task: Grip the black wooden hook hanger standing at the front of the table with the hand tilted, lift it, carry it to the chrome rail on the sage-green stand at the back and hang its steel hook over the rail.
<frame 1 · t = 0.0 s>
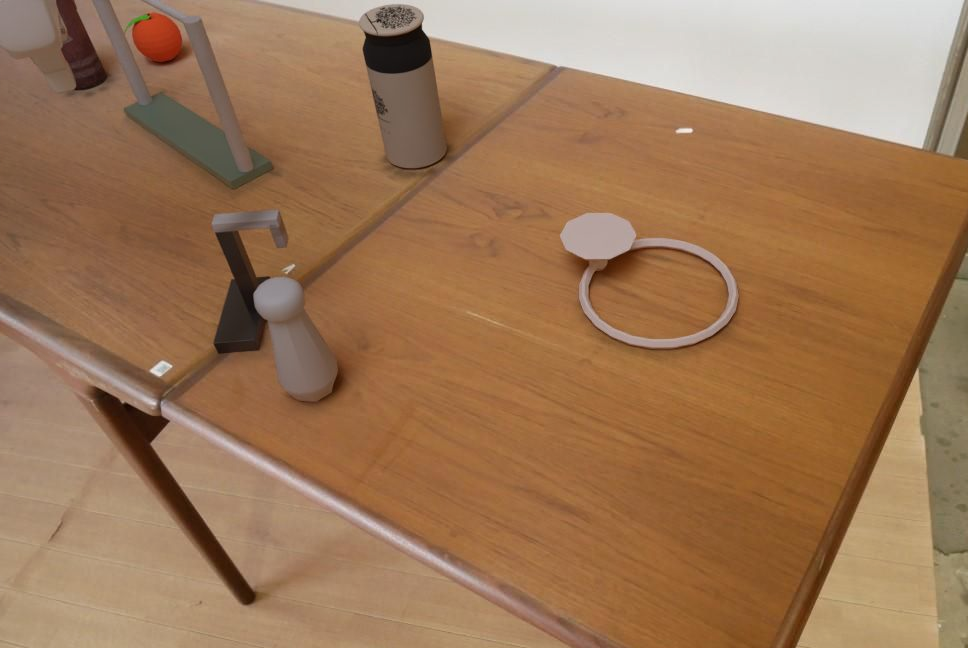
hand: (62, 62, 69), 29 cm above the table, tool pointing down, fingers open, 8 cm apart
clementine: (163, 61, 131), on the table
can: (87, 81, 127), on the table
travel mug: (417, 154, 110), on the table
salt shaker: (314, 388, 83), on the table
rack: (196, 141, 114), on the table
hand towel holder: (643, 289, 91), on the table
hanger: (261, 317, 90), on the table
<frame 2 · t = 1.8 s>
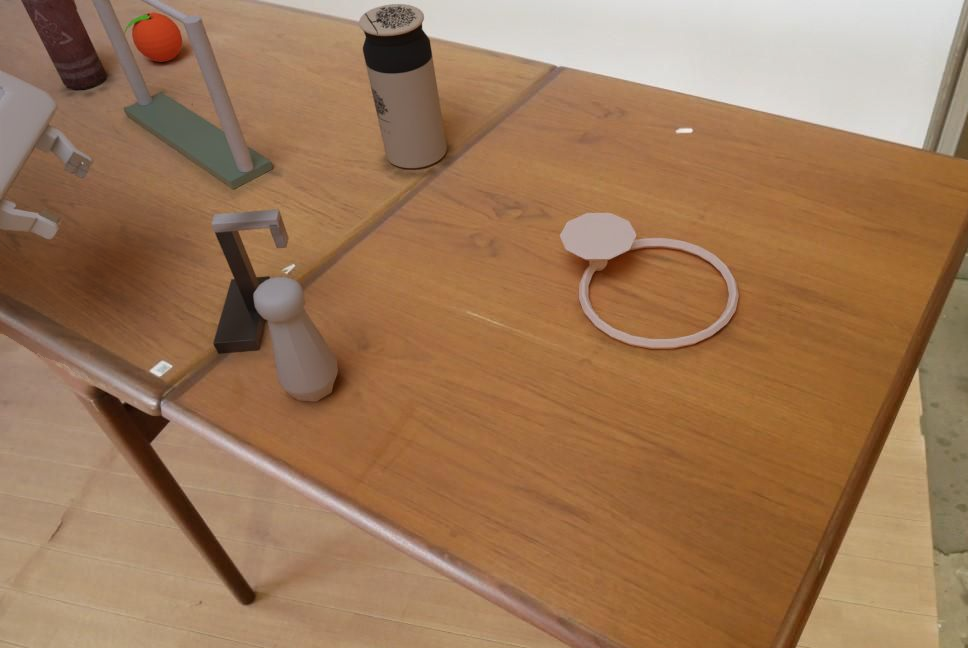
hand: (74, 198, 78), 16 cm above the table, tool tilted 45°, fingers open, 8 cm apart
nothing on the table moved.
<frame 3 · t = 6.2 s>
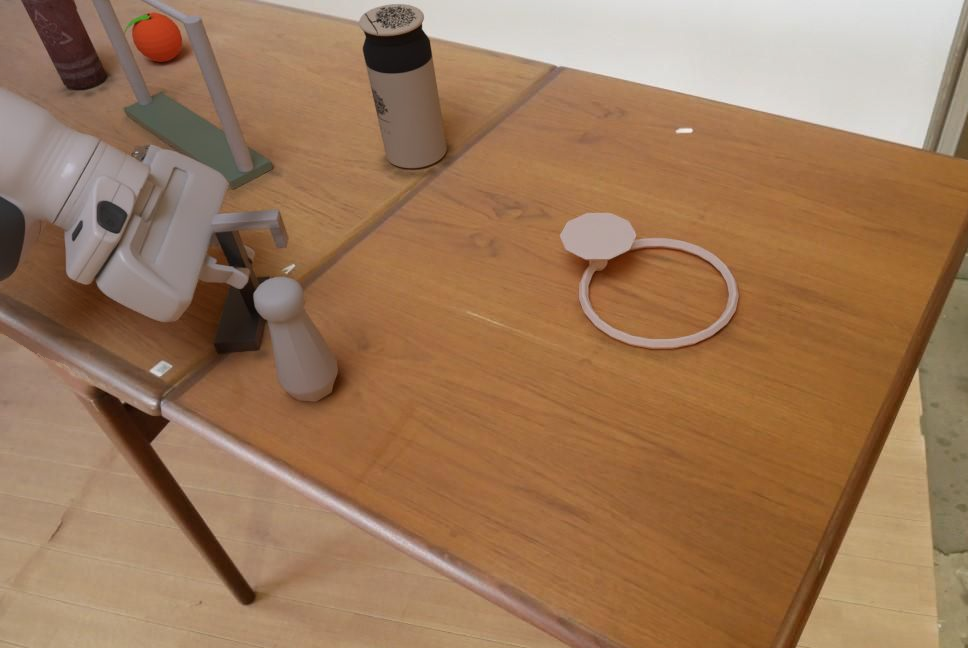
hand: (249, 271, 85), 6 cm above the table, tool tilted 45°, fingers closed on hanger
hanger: (261, 317, 90), on the table, touching gripper
everything else where it was.
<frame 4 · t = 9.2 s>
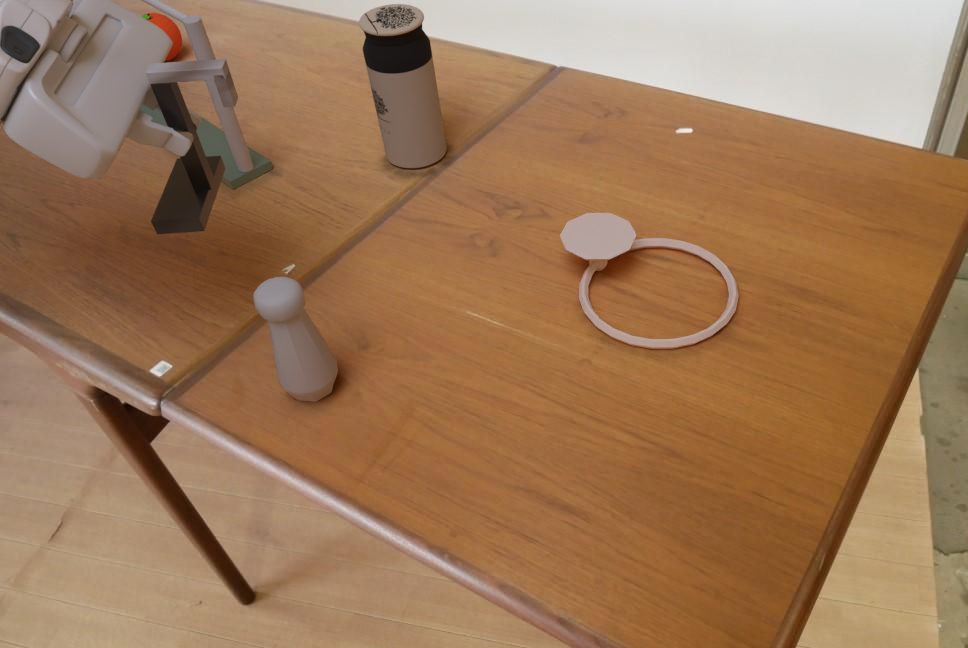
hand: (193, 138, 74), 22 cm above the table, tool tilted 45°, fingers closed on hanger
hanger: (210, 199, 79), point 15 cm above the table, touching gripper
everything else where it was.
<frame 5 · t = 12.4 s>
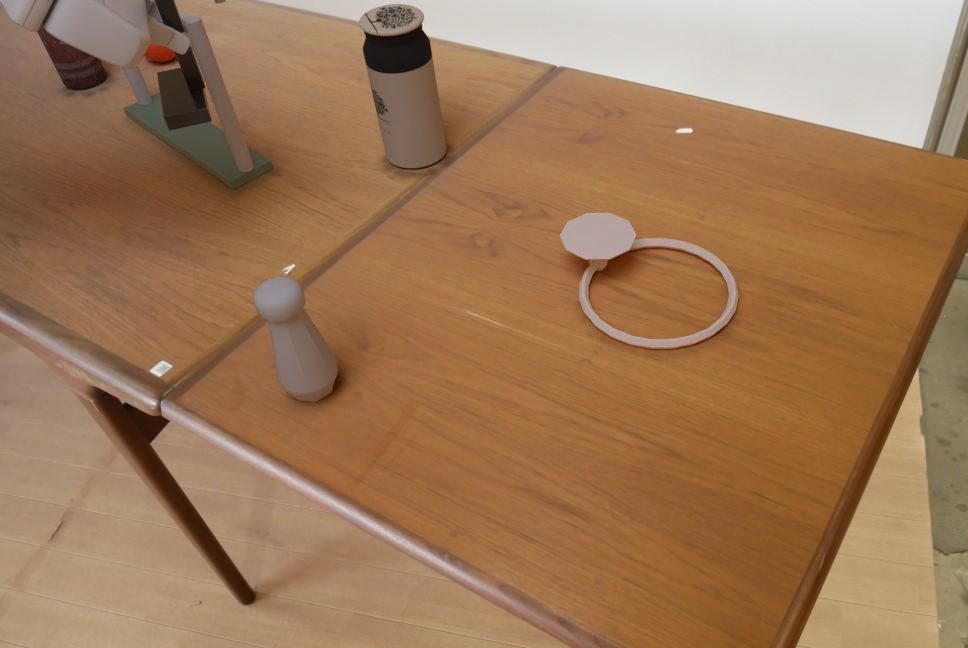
hand: (186, 39, 84), 23 cm above the table, tool tilted 45°, fingers closed on hanger
hanger: (202, 99, 88), point 17 cm above the table, touching gripper
everything else where it was.
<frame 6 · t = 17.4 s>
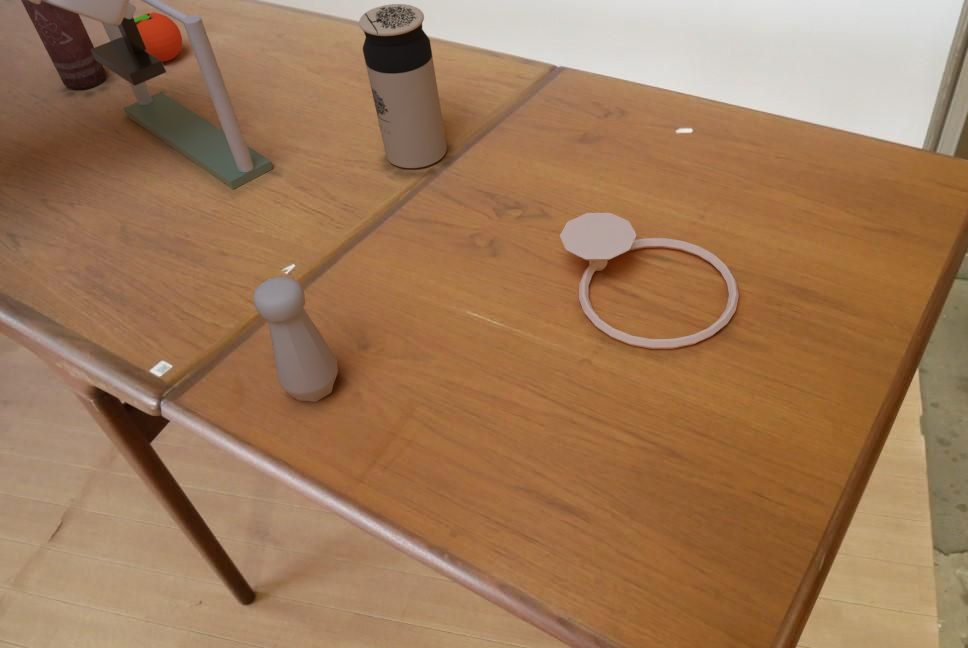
hand: (125, 8, 100), 19 cm above the table, tool tilted 45°, fingers closed on hanger
hanger: (142, 61, 104), point 12 cm above the table, touching gripper
everything else where it was.
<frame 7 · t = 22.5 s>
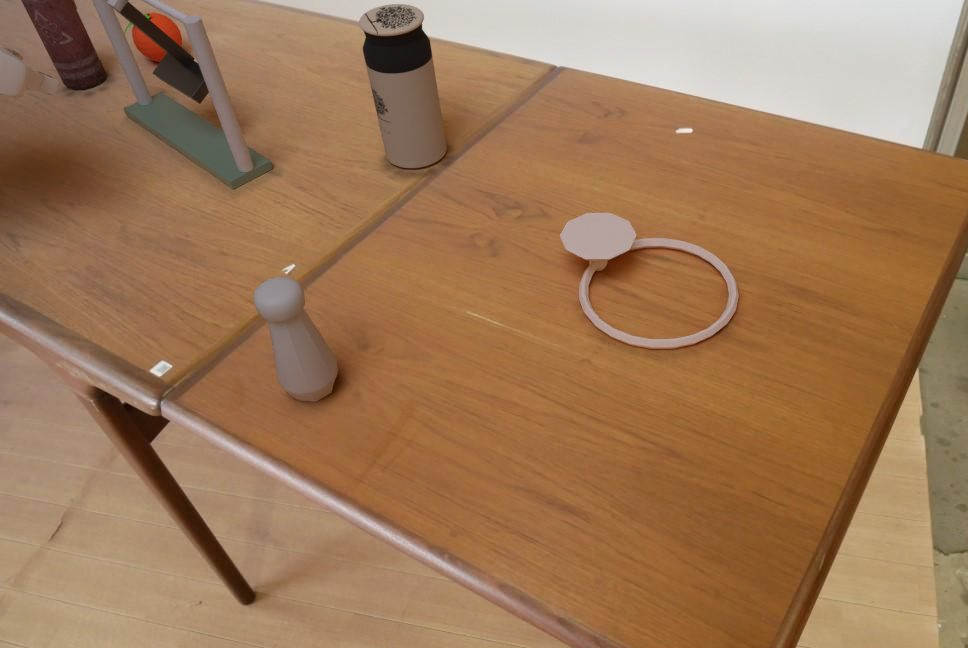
hand: (36, 73, 96), 16 cm above the table, tool tilted 45°, fingers open, 8 cm apart
hanger: (197, 69, 110), point 9 cm above the table, tilted 30°, touching rack
everything else where it was.
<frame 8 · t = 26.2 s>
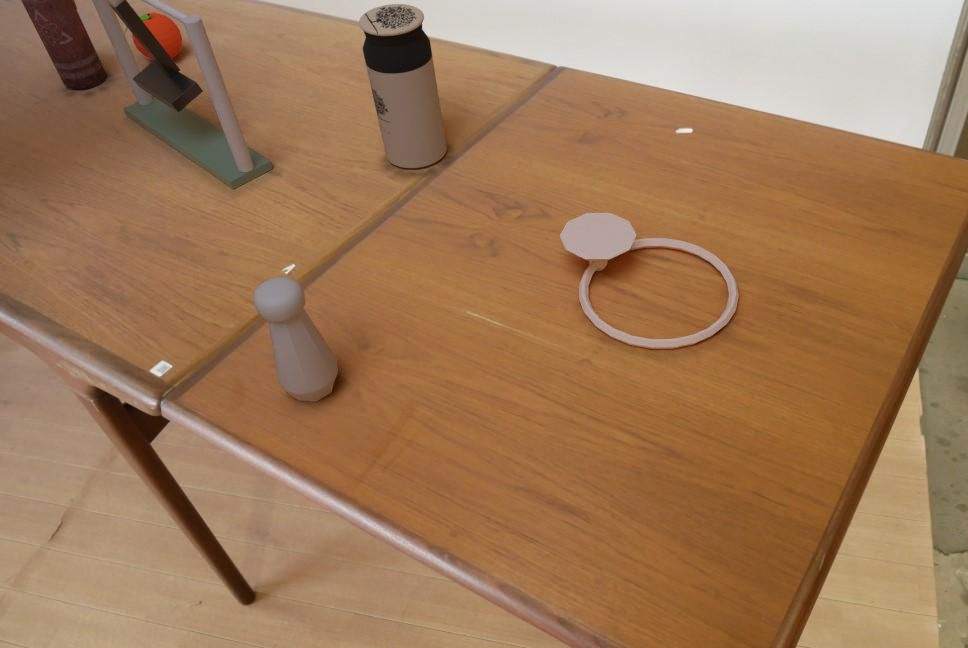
hanger: (180, 81, 109), point 8 cm above the table, tilted 17°, touching rack
everything else where it was.
at the end: hanger touching rack; hanger point 8.3 cm above the table; hanger 1.0 cm from the rack (horizontally) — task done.
